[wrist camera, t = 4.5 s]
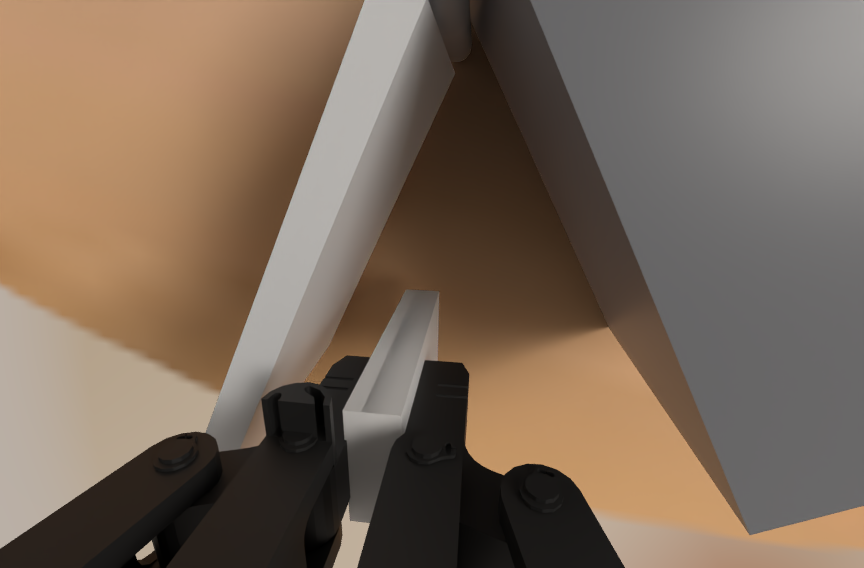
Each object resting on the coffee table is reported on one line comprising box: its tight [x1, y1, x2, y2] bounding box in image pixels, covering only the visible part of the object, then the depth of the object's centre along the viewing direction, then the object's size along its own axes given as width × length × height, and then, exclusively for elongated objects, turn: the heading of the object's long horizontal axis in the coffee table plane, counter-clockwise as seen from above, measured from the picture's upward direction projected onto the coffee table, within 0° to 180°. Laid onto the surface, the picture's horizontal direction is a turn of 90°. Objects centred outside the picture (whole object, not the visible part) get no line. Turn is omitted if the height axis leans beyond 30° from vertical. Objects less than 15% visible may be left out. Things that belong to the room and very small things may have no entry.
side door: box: [206, 0, 472, 452], centre depth 12 cm, size 12×2×8 cm, turn 154°
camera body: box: [469, 0, 864, 535], centre depth 9 cm, size 14×9×10 cm, turn 28°
